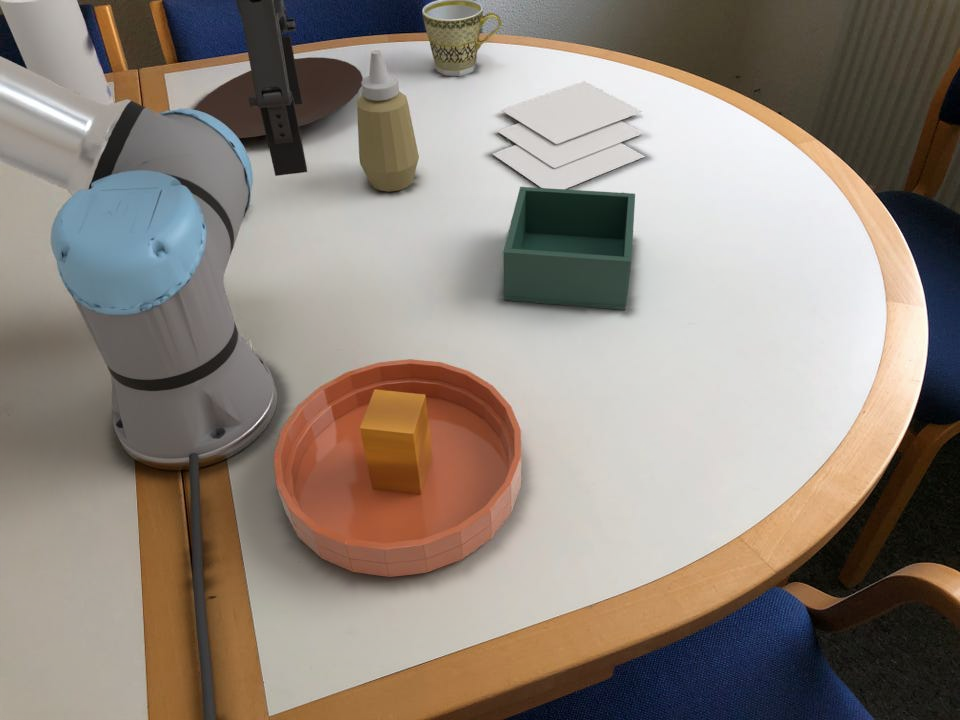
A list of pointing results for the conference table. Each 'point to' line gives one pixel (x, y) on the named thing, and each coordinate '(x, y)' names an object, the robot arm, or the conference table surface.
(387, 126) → the squeeze bottle
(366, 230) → the conference table surface
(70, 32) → the container
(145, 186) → the robot arm
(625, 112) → the paper stack
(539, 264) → the bin
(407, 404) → the block
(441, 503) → the bowl
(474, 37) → the ceramic cup
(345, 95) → the plate
